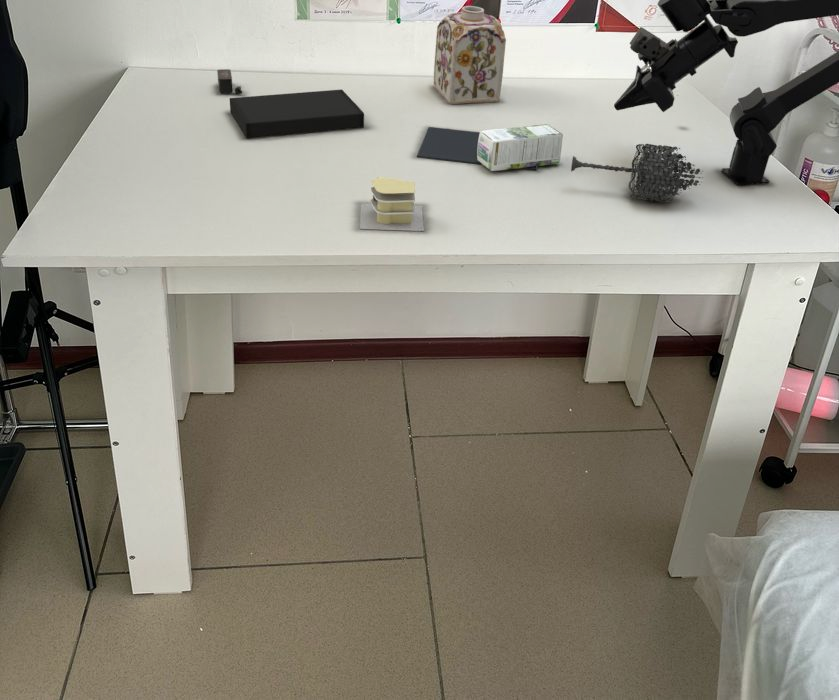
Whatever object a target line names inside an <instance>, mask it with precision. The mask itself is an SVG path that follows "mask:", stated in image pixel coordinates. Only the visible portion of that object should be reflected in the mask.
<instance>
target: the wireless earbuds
mask: <svg viewBox="0 0 839 700" xmlns="http://www.w3.org/2000/svg"><path fill="white" fill-rule="evenodd" d="M216 73H217V86H218V92H219V94H221V95H230V94H233V91H234V93H235V94H236V95H241V94H243V90H242V87H241V86H240V85H237V86H236V87H235V88H234V87H233V77H232V70H231V69H229V68H227V69H225V68H224V69H223V68H221V69H217V70H216ZM233 88H234V89H233Z"/></svg>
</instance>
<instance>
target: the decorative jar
mask: <svg viewBox="0 0 839 700" xmlns="http://www.w3.org/2000/svg"><path fill="white" fill-rule="evenodd" d="M460 10H461V11H459V12H452V13H450V14H447V15H446V16H445V17H443V18H442V19H441V21H440V22H439V23H438V24H437V26H436V37H435V38H436V39H435V48H434V49H435V52H434V53H435V54H434V65H433V87H434V88H435V89H436V91H437V92H438V93H439V94H440V95H441V96H442V98H444V99H445V100H446V101H447V102H448V103H449V104H450V105H458V104H460V105H463V104H478V103H494V102H495V103H497V102H500V101H501V92H502V86H503V78H504V77H503V76H504V67H505V66H504V65H505V56H506V55H505V54H506V44H507V39H506V34H505V31H504V29H503V27H502V23H501V21H500V20H499V19H498V18H496V17H495V16H493V15H490V14H487V13H485V9H484V8H483V7H480V6H474V5H465V6H461V9H460Z"/></svg>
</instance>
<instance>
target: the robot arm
mask: <svg viewBox="0 0 839 700" xmlns="http://www.w3.org/2000/svg"><path fill="white" fill-rule="evenodd" d="M657 6H658V8H659V9H660V10H661V12H662V13H663V15H664V16H665V18H666V19H667V21H669V23H670V24H671V26H672V27H673V28H674V30H675V31H676V32H681V31H682V32H683V33H687V34H685V35H684V36H682V37H681V38H680V39H678V40H677V39H676V38H675V39H673V38H672V39H671V40H669V41H668V42H666V41H665V40H663V39H661V38H660V37H659V36H657V35H656V34H654V33H652V32H651V31H649V30H647V29H646V28H644V27H642V26H640V27H639V28H638V30H637V31H636V33H635V34H634V36H633V37H632V38H631V40H630V42H629V45H630V47H629V48H630V50H631V51H633V53H635V54H637V57H638V60H639V61H642V62H643V63H644V65H643V66H642V67H641V66H640V65H636V69H635V70H636V71H635V76H634V79H633V81H632V82H631V84H630V85H628V87H627V88H626V90H625V91H624V92H623V93H622V94H621V96H620V97H619V98H618V99H616V102H614V104H613V108H614V109H615V110H616V111H622V110H626V109H630V108H634V107H639V106H645V105H650V104H656V105H657V107H658V108H659V109H660V111H661V112H662V113H665V112H666V111H668V110H669V109H670V108H672V107H674V104H675V103H674V102H675V94H674V91H673V90H675V89H676V88H677V86H676V84H677V83H679V82H680V81H682V80H683V79H684V78H686V77H687V76H689V75H690V77H693V76H695V74H697V73H698V72H697V69H698V68H699V67H701V66H702V65H704V64H705V63H707V62H708V61H709V60H710V59H711V58H713V57H715V56H716V55H717V54H719V53H720V52H722V51H723V50H724V51H725V52H726V53H727V55H728V56H729V58H730V59H731V58H734V57H735V53H736V48H737V45H738V44H739V41H738V39H737V37H739V38H740V37H741V38H743V37H748V36H751V35H754V34H759V33H761V32H764V31H767V30H769V29H771V28H774V27H775V26H777V25H782V24H784V23H791V22H799V21H805V20H813V19H820V18H828V17H835V16H839V0H658V1H657ZM708 15H709V17H711V19H712V21H713V22H714V23H715V24H716V25H714V24H713V23H712V22H711V20H710V19H709V17H708ZM724 27H726V28H727V30H728V31H729V32H730V33H731V34H732V35H734V37H730V36H729V34H728V33H727V32H726V30H725V29H724ZM837 84H839V50H837V51H836V52H834V53H833V54H831V55H829V56H828V57H826V58H825V59H823V60H822V61H820V62H818V63H817V64H815V65H814V66H811V68H808V69H807V70H805V71H804V72H802V73H800V74H799V75H798V76H795V77H794V78H792V79H790V80H789V81H788V82H786V83H784V84H783V85H781V86H779V87H778V88H776V89H773V90H771V91H766V92H763V90H762V89H761V87H760V86H758V87H756V88H755V89H753V90H751V92H749V93H748V94H746V95H745V96H742V97H738V98H737V101H738V102H737V103H736V104H735V105H733V106H732V108H731V111H730V113H729V122H730V125H731V128H732V131H733V133H734V136H735V138H736V141H735V146H734V147H733V151H732V156H731V159H730V163H729V167H726V168H725V167H724V168H721V173H722V174H723V175H725V176H726V177H727V178H728V179H730V180H731V181H732V182H733V183H734V184H736V185H737V186H749V185H750V186H751V185H768V184H770V180H769V179H768V178H766V176H765V173H766V169H767V166H768V162H769V159H770V156H772V155H773V153H774V152H775V150H776V149H777V147H778V146H777V142H776V141H775V139H774V136H773V133H772V131H774V130H775V129H776V128H777V126H778V125H779V124H780V123H781V122H782V121H783V119H784V118H785V117H786V116H787V115H788V114H789V113H790V112H792V111H793V110H795V109H797V108H799V107H800V106H802V105H804V104H805V103H807V102H809V101H810V100H811V99H813V98H815V97H817V96H818V95H820V94H821V93H824V92H825V91H826V90H828V89H830V88H833V86H835V85H837Z"/></svg>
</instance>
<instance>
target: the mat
mask: <svg viewBox="0 0 839 700" xmlns="http://www.w3.org/2000/svg"><path fill="white" fill-rule="evenodd" d="M479 134H480V131H469V130H461V129H451V128H443V127H433V126H428V127H427V130H426V132H425V135H424V137H423V140H422V142H421V145H420V147H419V150H418V151H417V155H416V158H421V159H429V160H438V161H447V162H457V163H465V164H474V165H482V166H484V165H483V164H482V163H481V162H479V161H478V160H477V147H478V139H479ZM516 169H519V170H528V171H535V172H536V171H537V169H538V166H533V167H524V168H516Z"/></svg>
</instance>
